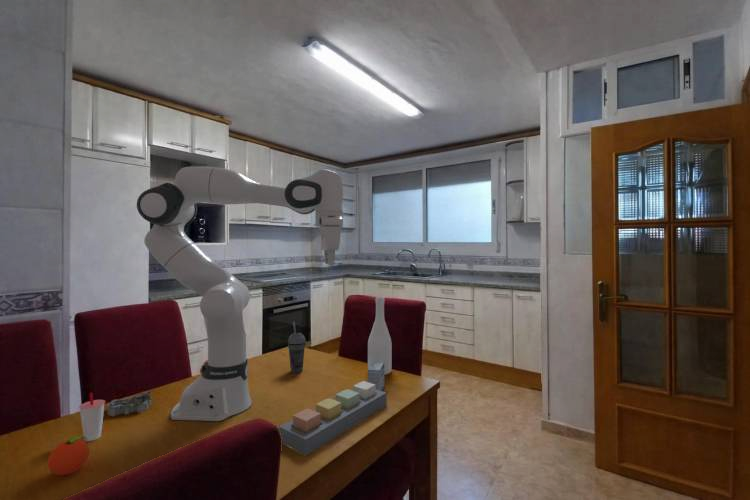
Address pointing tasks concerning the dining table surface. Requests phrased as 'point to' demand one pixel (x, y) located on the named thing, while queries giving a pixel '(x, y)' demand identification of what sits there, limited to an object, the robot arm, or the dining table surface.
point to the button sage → (348, 398)
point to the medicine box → (376, 375)
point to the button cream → (365, 389)
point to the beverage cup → (296, 351)
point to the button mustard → (328, 408)
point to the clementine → (68, 456)
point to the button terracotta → (306, 420)
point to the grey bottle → (380, 340)
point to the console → (331, 425)
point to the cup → (92, 418)
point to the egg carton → (130, 404)
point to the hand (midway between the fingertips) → (329, 264)
